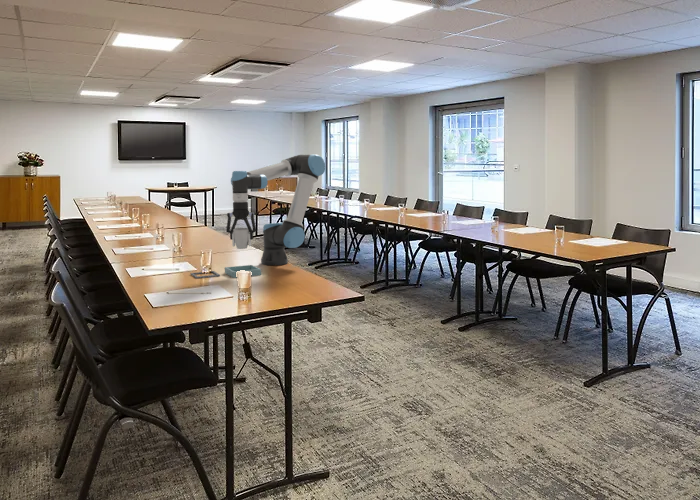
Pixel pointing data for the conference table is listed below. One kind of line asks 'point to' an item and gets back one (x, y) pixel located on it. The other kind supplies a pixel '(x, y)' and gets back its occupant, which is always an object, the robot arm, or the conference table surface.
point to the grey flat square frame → (205, 276)
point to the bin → (232, 270)
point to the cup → (241, 237)
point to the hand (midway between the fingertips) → (241, 245)
